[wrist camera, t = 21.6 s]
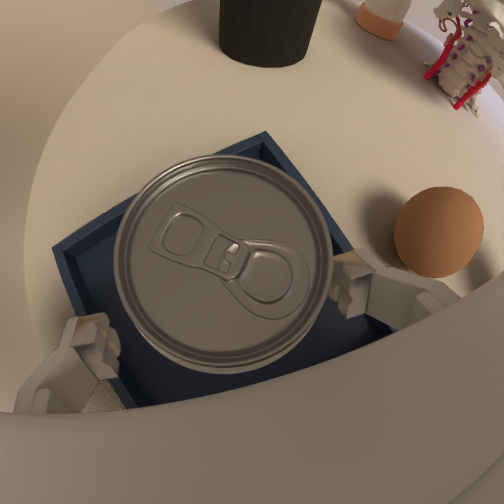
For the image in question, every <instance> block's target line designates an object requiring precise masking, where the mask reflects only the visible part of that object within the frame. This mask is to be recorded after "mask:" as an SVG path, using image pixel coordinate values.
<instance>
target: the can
mask: <svg viewBox="0 0 504 504" xmlns="http://www.w3.org/2000/svg"><path fill="white" fill-rule="evenodd" d="M113 262H114V275H115V281H116V286H117V290H118V293H119V296H120V299H121V301H122V303H123V306H124V308H125V310H126V311H127V313H128V315H129V317H130V318H131V320H132V321H133V323H134V324H135V326H136V328H137V329H138V330H139V332H140V333H141V334H142V336H143V337H144V338H145V339H146V340H147V341H148V342H149V343H150V344H151V345H152V346H153V347H154V348H155V349H156V350H157V351H159V352H160V353H161V354H163V355H164V356H165V357H167V358H169V359H170V360H172V361H174V362H176V363H178V364H180V365H182V366H185V367H187V368H190V369H193V370H197V371H201V372H206V373H213V374H235V373H242V372H247V371H251V370H255V369H258V368H260V367H263V366H265V365H268V364H270V363H272V362H274V361H276V360H277V359H279V358H281V357H282V356H284V355H285V354H286V353H288V352H289V351H290V350H291V349H293V348H294V347H295V346H296V345H297V344H298V343H299V342H300V341H301V340H302V339H303V337H304V336H305V335H306V334H307V332H308V331H309V330H310V328H311V327H312V325H313V323H314V322H315V320H316V318H317V316H318V315H319V313H320V311H321V309H322V307H323V305H324V303H325V300H326V298H327V295H328V292H329V289H330V285H331V280H332V274H333V248H332V242H331V237H330V233H329V230H328V227H327V224H326V222H325V219H324V217H323V215H322V213H321V211H320V209H319V207H318V206H317V204H316V203H315V201H314V200H313V198H312V197H311V196H310V195H309V193H308V192H307V191H306V190H305V189H304V188H303V187H302V186H301V185H300V184H299V183H298V182H297V181H296V180H295V179H293V178H292V177H291V176H289V175H288V174H287V173H285V172H284V171H282V170H280V169H279V168H277V167H275V166H273V165H271V164H269V163H266V162H264V161H261V160H258V159H255V158H251V157H247V156H242V155H234V154H212V155H205V156H199V157H195V158H192V159H188V160H185V161H183V162H180V163H178V164H176V165H174V166H172V167H170V168H168V169H166V170H165V171H163V172H161V173H160V174H159V175H157V176H156V177H155V178H153V179H152V180H151V181H150V182H149V183H147V184H146V185H145V186H144V187H143V188H142V189H141V191H140V192H139V193H138V194H137V195H136V197H135V198H134V199H133V201H132V202H131V204H130V205H129V207H128V209H127V210H126V212H125V214H124V216H123V218H122V221H121V223H120V226H119V229H118V232H117V236H116V241H115V246H114V258H113Z"/></svg>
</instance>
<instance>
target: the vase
mask: <svg viewBox="0 0 504 504" xmlns="http://www.w3.org/2000/svg"><path fill="white" fill-rule="evenodd" d="M321 2H322V0H220V20H219V45H220V47H221V49H222V51H223V52H224V53H226V54H227V55H229V56H230V57H231V58H233V59H235V60H238V61H241V62H243V63H246V64H250V65H256V66H262V67H282V66H287V65H292V64H295V63H297V62H298V61H300V60H302V59H303V58H304V56H305V54H306V52H307V49H308V46H309V42H310V39H311V36H312V32H313V29H314V25H315V22H316V19H317V15H318V12H319V9H320V6H321Z"/></svg>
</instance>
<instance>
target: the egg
mask: <svg viewBox="0 0 504 504" xmlns="http://www.w3.org/2000/svg"><path fill="white" fill-rule="evenodd" d="M483 230H484V226H483V217H482V214H481V211H480V208H479V206H478V205H477V203H476V202H475V201H474V199H473V198H472V197H471V196H469V195H468V194H467V193H465V192H463V191H462V190H460V189H455V188H451V187H433V188H429V189H426V190H423V191H421V192H420V193H418V194H416V195H415V196H413V197H412V198H411V199H410V200H409V201H408V202H407V203H406V204H405V205H404V206H403V208H402V209H401V211H400V213H399V215H398V217H397V219H396V223H395V228H394V241H395V246H396V250H397V253H398V255H399V257H400V259H401V260H402V262H403V263H404V264H405V265H406V266H407V267H408V268H409V269H410V270H412V271H413V272H414V273H416V274H418V275H420V276H424V277H429V278H442V277H446V276H449V275H451V274H454V273H456V272H457V271H459V270H461V269H462V268H463V267H465V266H466V265H467V264H468V263H469V261H470V260H471V259H472V257H473V256H474V255H475V253H476V252H477V250H478V247H479V245H480V243H481V240H482V237H483Z"/></svg>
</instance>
